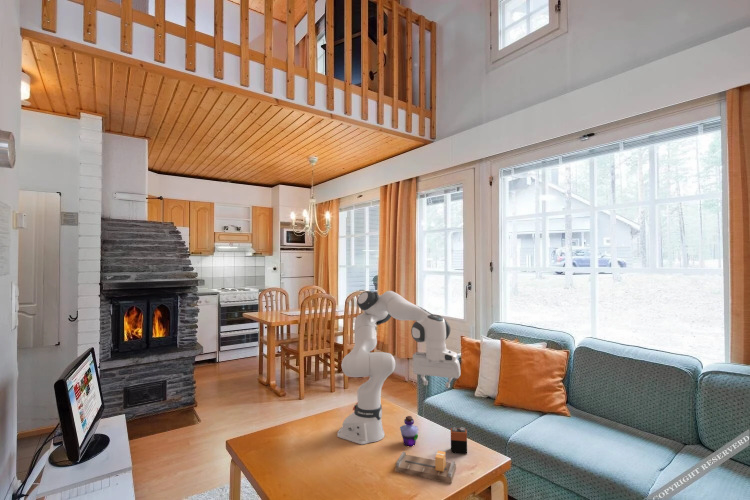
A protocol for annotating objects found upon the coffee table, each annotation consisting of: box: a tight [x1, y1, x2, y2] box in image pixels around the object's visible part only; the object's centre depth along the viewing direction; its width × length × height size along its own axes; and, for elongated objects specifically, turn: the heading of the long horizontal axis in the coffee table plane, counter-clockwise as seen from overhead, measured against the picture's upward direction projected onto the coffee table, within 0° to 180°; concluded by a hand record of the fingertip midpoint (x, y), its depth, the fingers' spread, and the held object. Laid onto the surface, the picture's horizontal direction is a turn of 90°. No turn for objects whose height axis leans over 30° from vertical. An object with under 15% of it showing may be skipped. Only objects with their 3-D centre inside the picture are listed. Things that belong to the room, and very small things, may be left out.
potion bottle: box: [399, 415, 419, 448], centre depth 168 cm, size 9×9×12 cm
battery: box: [450, 426, 468, 455], centre depth 161 cm, size 4×7×10 cm, turn 79°
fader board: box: [394, 451, 457, 484], centre depth 146 cm, size 22×10×3 cm, turn 68°
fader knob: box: [434, 450, 447, 472], centre depth 144 cm, size 3×5×5 cm, turn 158°
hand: (436, 386), depth 158 cm, fingers open, 8 cm apart
